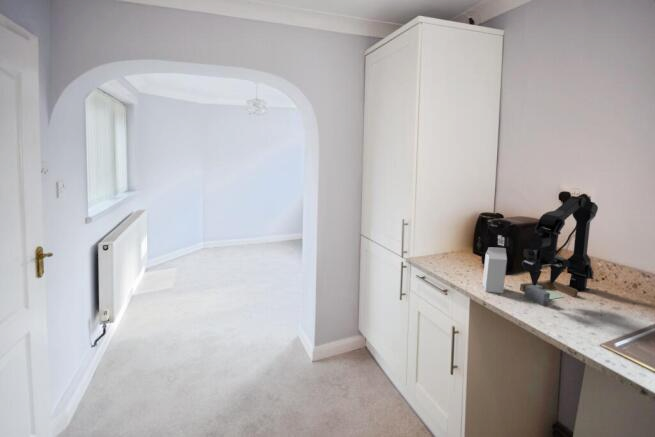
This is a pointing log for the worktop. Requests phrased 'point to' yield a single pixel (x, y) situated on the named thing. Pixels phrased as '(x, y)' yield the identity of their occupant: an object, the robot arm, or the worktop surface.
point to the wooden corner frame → (554, 285)
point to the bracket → (537, 294)
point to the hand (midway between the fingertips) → (542, 283)
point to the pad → (553, 294)
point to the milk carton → (494, 270)
